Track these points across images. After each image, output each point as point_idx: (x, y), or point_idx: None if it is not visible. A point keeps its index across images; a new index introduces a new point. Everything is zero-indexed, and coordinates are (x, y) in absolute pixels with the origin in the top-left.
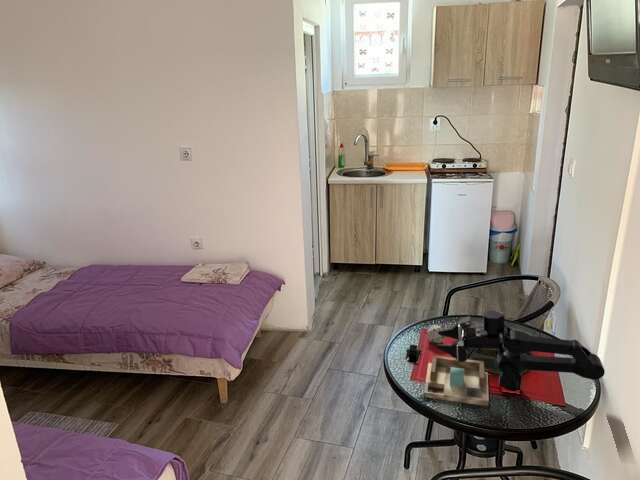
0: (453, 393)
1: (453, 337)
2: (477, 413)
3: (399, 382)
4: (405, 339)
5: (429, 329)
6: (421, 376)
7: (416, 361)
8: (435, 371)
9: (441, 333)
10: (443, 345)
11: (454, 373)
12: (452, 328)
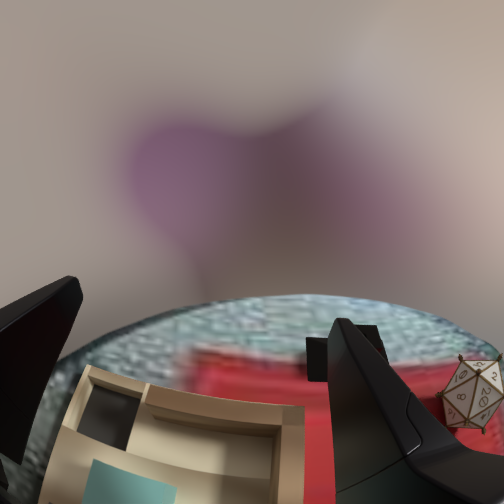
0: (65, 463)
1: (341, 495)
2: None
3: (180, 318)
4: (423, 329)
5: (475, 362)
6: (219, 387)
7: (317, 370)
8: (201, 424)
9: (334, 356)
10: (14, 302)
11: (100, 482)
12: (422, 450)
